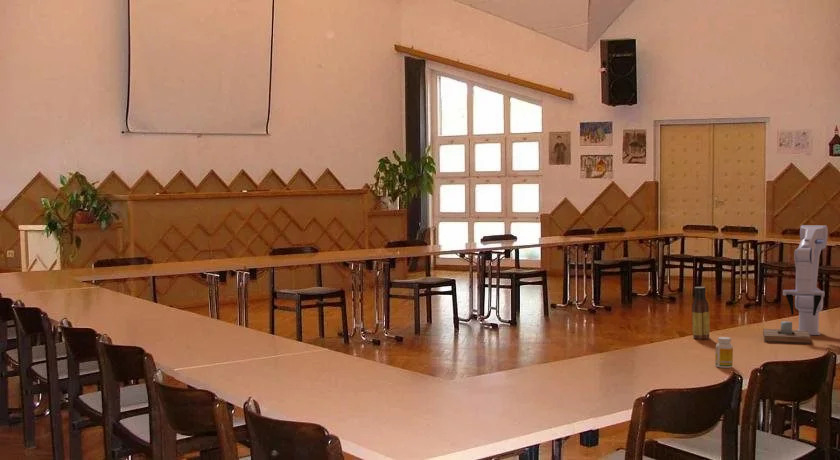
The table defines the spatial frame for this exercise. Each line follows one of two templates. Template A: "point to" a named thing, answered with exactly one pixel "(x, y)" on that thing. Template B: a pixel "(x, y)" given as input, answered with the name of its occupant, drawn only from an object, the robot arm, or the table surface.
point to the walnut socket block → (786, 336)
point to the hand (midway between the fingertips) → (803, 314)
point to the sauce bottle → (700, 315)
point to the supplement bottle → (724, 353)
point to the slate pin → (786, 327)
